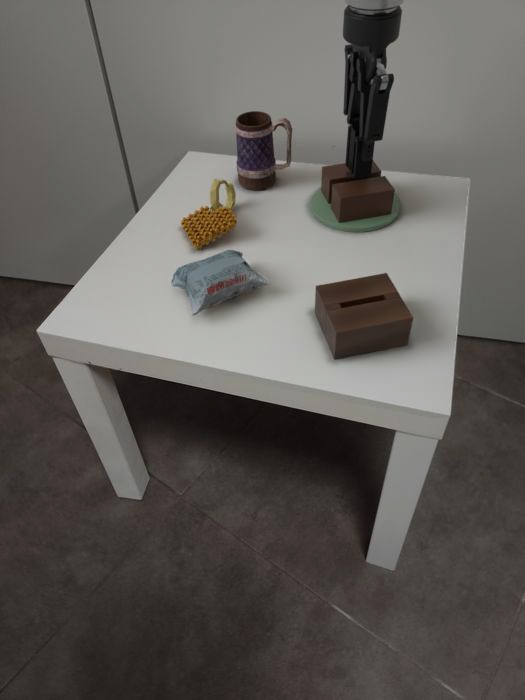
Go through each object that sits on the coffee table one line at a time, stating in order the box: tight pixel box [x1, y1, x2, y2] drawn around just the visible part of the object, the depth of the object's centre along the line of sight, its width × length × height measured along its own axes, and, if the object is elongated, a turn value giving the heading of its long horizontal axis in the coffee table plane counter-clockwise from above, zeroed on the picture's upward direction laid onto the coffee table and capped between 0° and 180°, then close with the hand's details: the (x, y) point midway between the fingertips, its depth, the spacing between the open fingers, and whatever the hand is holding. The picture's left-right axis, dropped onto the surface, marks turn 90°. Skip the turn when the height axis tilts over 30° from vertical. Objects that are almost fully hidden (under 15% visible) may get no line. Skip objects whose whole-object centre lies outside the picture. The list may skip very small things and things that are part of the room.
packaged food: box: [171, 249, 270, 317], centre depth 78 cm, size 9×12×5 cm
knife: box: [345, 125, 368, 182], centre depth 88 cm, size 2×4×13 cm, turn 102°
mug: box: [235, 110, 293, 191], centre depth 95 cm, size 10×7×12 cm
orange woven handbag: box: [180, 178, 238, 250], centre depth 89 cm, size 7×10×15 cm
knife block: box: [314, 272, 414, 360], centre depth 71 cm, size 9×10×5 cm
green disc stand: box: [310, 160, 401, 233], centre depth 91 cm, size 15×15×5 cm
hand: (357, 170), depth 88 cm, fingers open, 3 cm apart
